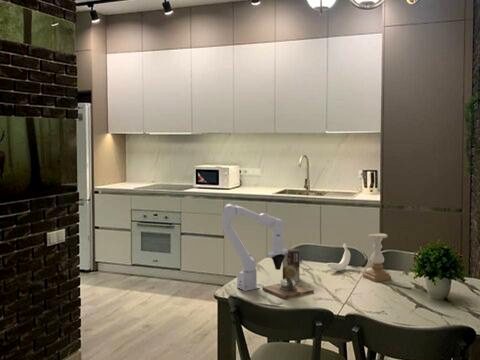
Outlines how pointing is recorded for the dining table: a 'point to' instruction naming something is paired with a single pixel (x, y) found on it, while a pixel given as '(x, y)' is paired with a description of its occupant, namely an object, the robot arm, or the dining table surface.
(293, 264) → the coffee box
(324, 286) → the dining table surface
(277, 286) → the post base
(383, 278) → the candle holder
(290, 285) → the steel cap
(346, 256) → the banana
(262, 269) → the dining table surface
